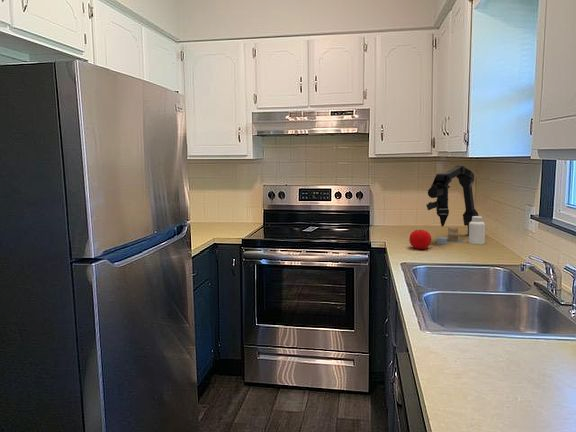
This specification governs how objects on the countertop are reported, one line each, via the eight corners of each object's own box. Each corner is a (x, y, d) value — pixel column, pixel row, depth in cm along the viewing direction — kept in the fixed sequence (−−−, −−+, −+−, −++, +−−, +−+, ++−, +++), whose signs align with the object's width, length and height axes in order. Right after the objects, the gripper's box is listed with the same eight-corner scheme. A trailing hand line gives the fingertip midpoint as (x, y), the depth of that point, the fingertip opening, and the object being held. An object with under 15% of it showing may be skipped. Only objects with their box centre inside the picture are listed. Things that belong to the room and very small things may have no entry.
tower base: (447, 239, 266) (448, 233, 265) (457, 239, 264) (457, 233, 264) (448, 241, 261) (448, 234, 260) (457, 241, 259) (457, 235, 259)
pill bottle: (483, 242, 256) (484, 215, 254) (485, 245, 249) (486, 217, 247) (468, 242, 258) (468, 215, 257) (469, 245, 251) (470, 217, 249)
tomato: (417, 251, 237) (417, 231, 236) (404, 247, 249) (404, 228, 248) (436, 249, 240) (436, 230, 239) (423, 245, 252) (423, 227, 251)
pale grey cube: (437, 243, 259) (437, 237, 259) (446, 243, 258) (446, 237, 257) (436, 244, 255) (437, 238, 254) (446, 245, 253) (446, 238, 253)
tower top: (448, 233, 265) (448, 227, 265) (457, 233, 264) (457, 227, 263) (448, 234, 260) (448, 228, 260) (457, 235, 259) (457, 228, 258)
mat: (440, 239, 270) (440, 238, 270) (462, 240, 266) (462, 239, 266) (440, 242, 259) (440, 241, 259) (463, 243, 256) (463, 242, 256)
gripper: (427, 195, 264) (427, 222, 266) (426, 198, 247) (426, 227, 249) (448, 195, 261) (447, 222, 263) (449, 198, 243) (448, 227, 245)
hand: (442, 225), depth 255 cm, fingers open, 9 cm apart
